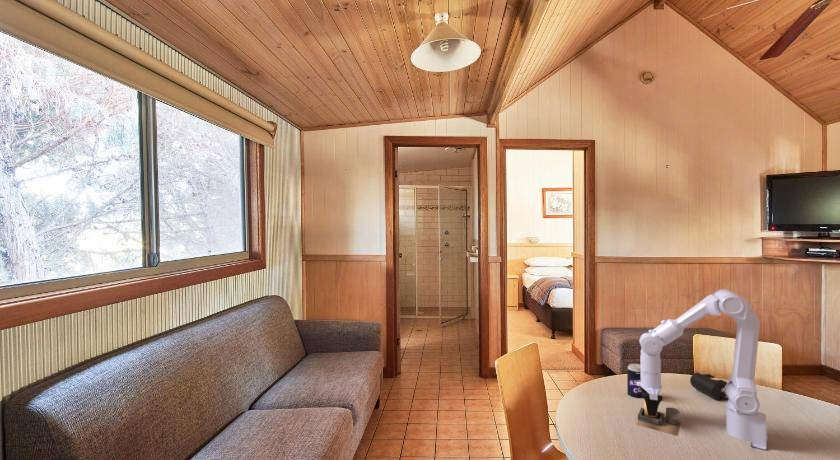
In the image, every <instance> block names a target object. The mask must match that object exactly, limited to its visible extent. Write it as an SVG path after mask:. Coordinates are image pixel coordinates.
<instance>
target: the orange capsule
mask: <svg viewBox="0 0 840 460" xmlns="http://www.w3.org/2000/svg"><path fill="white" fill-rule="evenodd" d="M643 402H644V403H643V405H644V406H643V407H644V416H646V417H650V418H654V419H657V414H656V416H650V415H648V412H647V407H646V402H645V400H644V401H643Z"/></svg>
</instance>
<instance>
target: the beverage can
mask: <svg viewBox="0 0 840 460" xmlns="http://www.w3.org/2000/svg"><path fill="white" fill-rule="evenodd" d="M626 372H627V373H626V377H627V378H626V379H627V381H626V382H627V395H628V396H629V397H631V398H635V399H644V398H643V396H642V390H641V389H640V386H637V382H641V369H640V364H639V363H634V362H633V363H629V364H628V366H627V370H626Z"/></svg>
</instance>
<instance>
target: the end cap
mask: <svg viewBox="0 0 840 460" xmlns="http://www.w3.org/2000/svg"><path fill="white" fill-rule="evenodd" d="M689 382H690V383H689V384H690V385H691V387H692V388H694V389H696V390H697V391H699V392H700V393H702V394H704V395H705V396H708V397H710V398H712V399H713V400H715V401H718V402H719V401H728V400H729V398H728V397H727V395H726V394H725V391H722V390H724V388H725V386H726V384H727V383H728V381H724V380H723V379H715V375H711V374H710V373H705V374H702V373H700V372H694V373H693V374H692V375H691V376H690V379H689Z"/></svg>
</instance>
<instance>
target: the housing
mask: <svg viewBox="0 0 840 460" xmlns="http://www.w3.org/2000/svg"><path fill="white" fill-rule="evenodd" d="M681 423H682V421H680V410H679V409H678V408H675V407H666V408H665V413H663V412H662V411H659V410H657V419H654V418H650V417H646V416H644V408H643V407H641V408H640V410H639V412H638V414H637V422H636V426H640V427H644V428H646V429H651V430H654V431H657V432H661V433H666V434H669V435H672V436H675V437H678V435H679V430H680V427H681V425H682V424H681Z"/></svg>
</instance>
